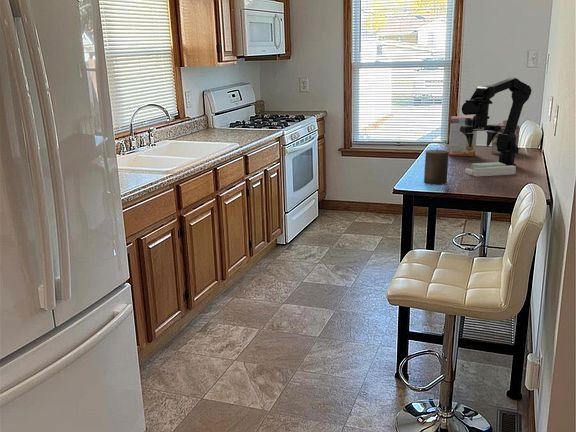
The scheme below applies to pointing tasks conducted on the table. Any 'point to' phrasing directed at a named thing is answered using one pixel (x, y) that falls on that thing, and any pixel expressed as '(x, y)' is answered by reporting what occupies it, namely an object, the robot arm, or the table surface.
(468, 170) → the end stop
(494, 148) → the decorative jar
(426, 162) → the pillar candle
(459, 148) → the cracker box
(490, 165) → the bar
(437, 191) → the table surface
